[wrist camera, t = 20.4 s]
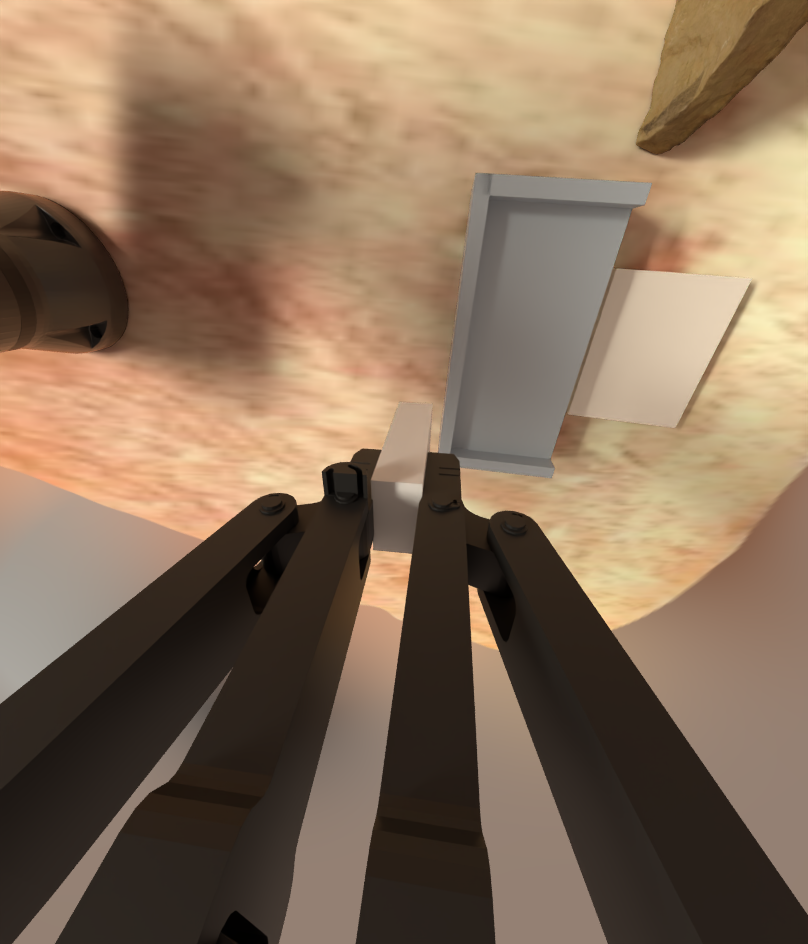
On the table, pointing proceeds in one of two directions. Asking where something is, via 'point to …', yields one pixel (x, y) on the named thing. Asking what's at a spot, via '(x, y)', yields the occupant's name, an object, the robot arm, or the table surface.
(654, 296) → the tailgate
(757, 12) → the rock
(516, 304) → the bed
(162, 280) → the table surface
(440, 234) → the table surface
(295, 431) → the table surface
